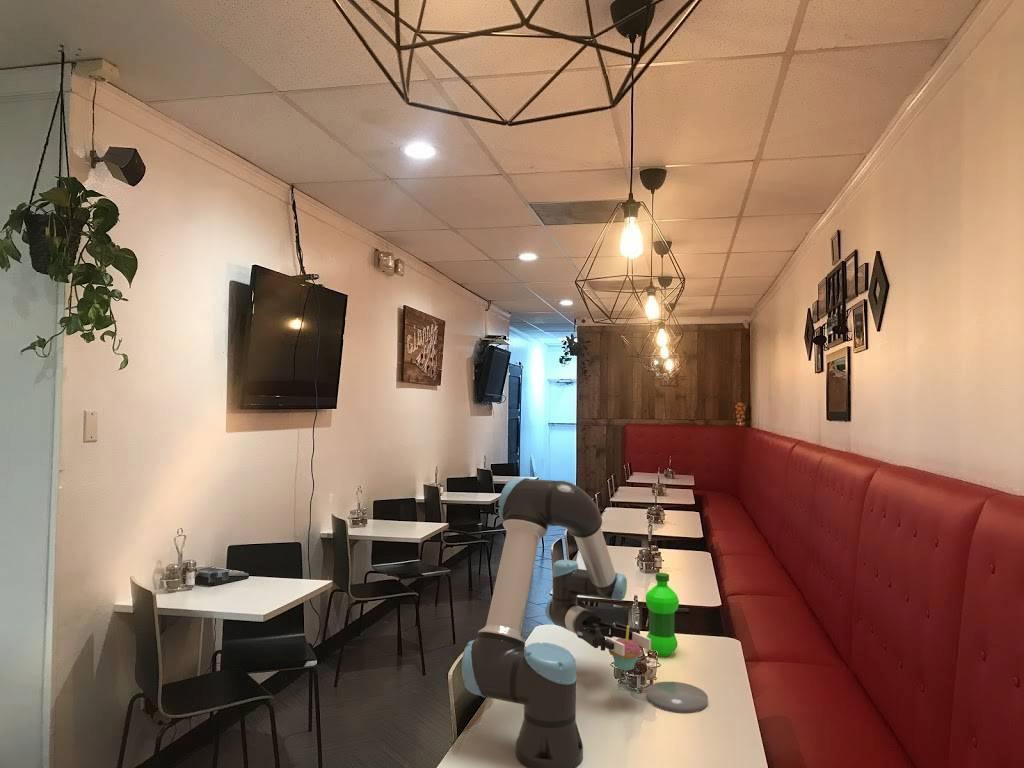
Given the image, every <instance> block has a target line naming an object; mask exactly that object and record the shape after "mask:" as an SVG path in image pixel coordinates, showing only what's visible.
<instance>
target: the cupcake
mask: <svg viewBox="0 0 1024 768" xmlns="http://www.w3.org/2000/svg"><path fill="white" fill-rule="evenodd" d="M626 626H627V631H626V639H625V638H624V639H623V638H617V639H615V640H616V641H618V642H620V643H622V644H624V645H625V655H624V656H621V655H619V654H617V653H615V652H613V651H611V650H609V649H608V652H609V654H610V656H612V657H613V660H614V663H615V667H616V668H617V669H619V670H621V671H630V670H633V669H635V666H636V662H637V660H638V659H639V657H640V656H641V653H642V652H641V651H642V650H641V646H639V645H638V644H637V643H636V642H634V641H632V640H628V637H629V626H630V623H629V622H628V623H627V625H626Z"/></svg>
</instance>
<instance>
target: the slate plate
mask: <svg viewBox="0 0 1024 768" xmlns="http://www.w3.org/2000/svg"><path fill="white" fill-rule="evenodd" d="M645 693H646V696H647V697H646V700H647V699H648V700H647V702H649V703H650V702H651V703H652V704H653V705H652V704H651V703H650V704H651V705H652V706H654V705H655V706H654V707H656V706H657V707H656V708H658V707H659V708H658V709H660V708H661V710H663V709H664V710H663V711H666V710H668V711H667V712H670V711H671V712H672V713H676V714H677V713H678V714H679V713H680V714H689V713H690V714H691V713H698V712H700V711H703V710H705V709H706V708H707V707H708V702H709V701H708V699H709V698H708V694H707V693H706V692H705V691H704V690H703V689H701V688H700V687H697V686H696V685H692V684H689V683H686V682H681V681H680V682H679V681H660V682H655V683H652V684H651V685H648V687H647V688H646V691H645Z"/></svg>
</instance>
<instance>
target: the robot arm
mask: <svg viewBox="0 0 1024 768" xmlns="http://www.w3.org/2000/svg"><path fill="white" fill-rule="evenodd" d="M498 506H499V507H498V516H499V519H500V520H501V521H502V526H503V528H504V530H505V531H506V535H505V539H504V544H503V547H502V551H501V552H502V553H501V557H500V561H499V565H498V566H499V567H498V571H497V575H496V579H495V584H494V589H493V593H492V598H491V602H490V606H489V611H488V615H487V618H486V619H487V620H486V623H485V626H484V627H483V628H481V629H480V630H479V631H477V635H476V639H473V640H470V641H468V642H467V644H466V646H465V647H464V649H463V650H464V651H463V653H462V657H461V658H462V660H461V675H462V679H463V680H462V681H463V684H464V686H465V688H466V690H467V691H468V692H469V693H471V694H472V695H477V696H481V697H483V698H484V699H488V698H489V699H493V700H499V701H502V702H503V701H504V702H509V703H513V704H514V703H515V704H519V705H523V713H524V714H523V720H522V723H521V728H520V730H519V734H518V737H517V739H516V743H515V757H516V758H517V760H518V761H519V763H521V764H522V765H524V766H525V767H527V768H575V767H577V766H578V765H580V764H581V763H582V761H583V758H584V744H583V741H582V737H581V734H580V732H579V728H578V724H577V722H576V721H577V720H576V719H577V717H576V714H577V711H576V708H577V705H576V704H577V697H576V696H577V679H578V678H577V677H578V674H577V665H576V664H577V663H576V659H575V657H574V655H573V654H572V653H571V651H569V650H568V649H567V648H565V647H563V646H560V645H557V644H554V643H550V642H532V643H530V644H528V645H527V646H526V641H525V639H524V638H523V636H522V629H523V624H524V619H525V614H526V609H527V603H528V599H529V595H530V594H529V593H530V589H531V583H532V580H533V573H534V568H535V563H536V559H537V553H538V547H539V542H540V539H542V538H543V537H545V536H546V535H547V534H548V533H547V532H548V527H549V526H550V527H562V528H566V530H567V532H568V533H569V534H570V536H573V537H574V540H575V542H576V545H577V548H578V551H579V553H580V557H581V558H582V561H583V564H584V566H585V567H584V568H585V569H582V568H579V564H578V562H577V561H575V560H571V559H560V560H559V559H558V560H557V561H555V562H554V563H553V565H552V566H553V567H552V568H553V569H552V576H551V577H552V597H551V598H550V599H549V600H548V601H547V604H546V606H545V608H544V609H545V611H544V613H545V616H546V618H547V620H548V621H549V622H551V623H553V624H554V625H556V626H559V627H561V628H563V629H565V630H567V631H569V632H572V633H573V634H575V635H576V636H577V638H579V639H581V640H583V641H584V642H586V643H587V644H588V645H590V646H591V647H593V649H598V648H599V647H600V651H606V649H608V651H609V650H611V651H613V652H615V653H617V654H619V655H621V656H624V655H625V645H624V644H622V643H620V642H618V641H616V640H617V639H619V638H620V639H621V638H623V639H624V638H625V639H626V631H627V626H628V625H627V624H623V623H619V622H618V621H616V620H613V621H612V623H610V622H609V623H608V622H606V621H605V620H604V621H603V620H602V619H601V616H600V615H599V614H597V613H596V612H595V611H591V610H589V609H587V608H584V607H582V606H580V605H578V596H581V597H582V596H583V597H589V598H590V597H591V598H597V599H603V600H610V601H612V600H613V601H623V600H624V599H625V597H626V594H627V589H628V581H627V580H628V579H627V576H626V575H625V574H623V573H619V572H616V571H615V568H614V565H613V562H612V561H613V560H612V559H611V555H610V552H609V549H608V546H607V543H606V539H605V536H604V533H603V530H602V525H603V518H602V515H601V512H600V509H599V508H598V505H597V504H596V502H595V501H594V500H593V499H592V498H591V496H590V495H589V494H587V492H585V491H584V490H583V489H582V488H580V487H579V486H578V485H576V484H573V483H572V482H569V481H565V480H551V479H548V480H547V479H537V478H536V479H535V478H533V479H532V478H527V477H525V478H513V479H510V480H509V481H508V482H507V483H505V485H504V487H503V488H502V491H501V493H500V496H499V499H498ZM613 638H617V639H613ZM628 640H632V641H634V642H636V643H637V644H638V645H639V646H640V648H643V649H646V650H647V651H651V639H649V638H647V636H644V635H642V634H641V629H639V628H636V627H632V626H630V625H629V637H628Z"/></svg>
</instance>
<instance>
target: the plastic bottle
mask: <svg viewBox="0 0 1024 768" xmlns="http://www.w3.org/2000/svg"><path fill="white" fill-rule="evenodd" d="M655 581H656V584H655V586H653V587H652V588H651V589H649V590H648V591H647V592H646V594H645V603H646V608H647V610H649V627H648V628H649V631H648V633H647V635H646V637H647V638H649V639H651V650H655V651H657V652H658V656H657V657H665V658H666V657H669V656H671V654H673V653H674V652H675V651H676V650H677V649H678V640H677V637H676V635H675V625H676V624H675V619H676V618H675V616H676V615H675V614H676V613H675V612H677V610H678V609H679V607H680V606H679V605H680V604H679V603H680V601H679V600H680V599H679V597H678V595H677V592H675V591H674V590H673V589H672V587H670V586H669V585H668V582H669V581H670V574H669V573H666V572H656V573H655ZM651 650H650V651H651Z"/></svg>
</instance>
